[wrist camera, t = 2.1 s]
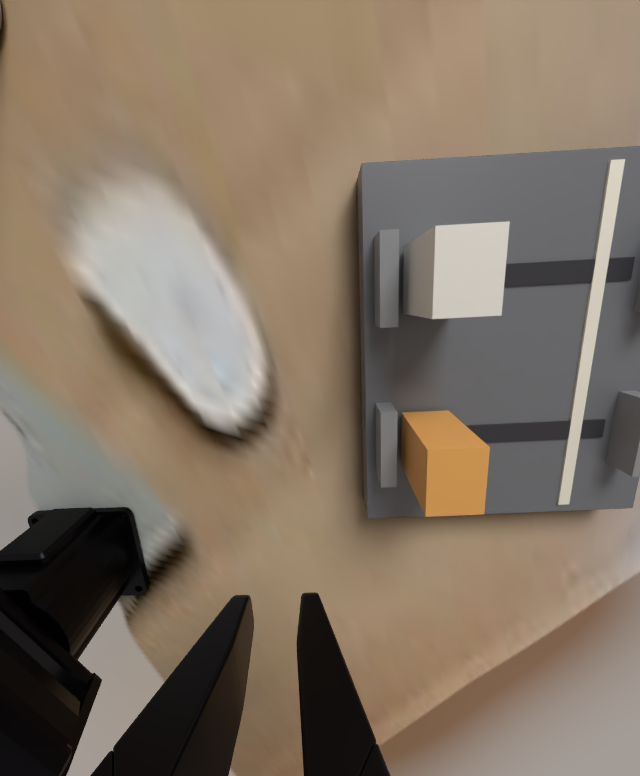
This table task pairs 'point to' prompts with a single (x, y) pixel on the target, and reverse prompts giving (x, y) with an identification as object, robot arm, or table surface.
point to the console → (510, 327)
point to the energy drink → (0, 15)
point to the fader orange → (444, 463)
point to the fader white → (456, 271)
